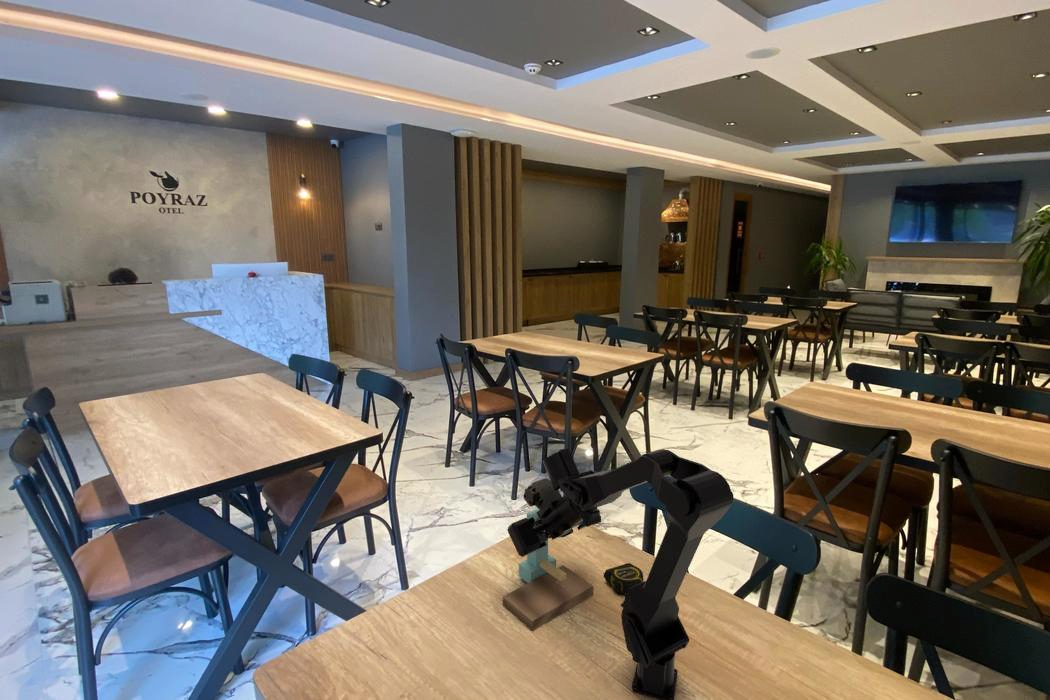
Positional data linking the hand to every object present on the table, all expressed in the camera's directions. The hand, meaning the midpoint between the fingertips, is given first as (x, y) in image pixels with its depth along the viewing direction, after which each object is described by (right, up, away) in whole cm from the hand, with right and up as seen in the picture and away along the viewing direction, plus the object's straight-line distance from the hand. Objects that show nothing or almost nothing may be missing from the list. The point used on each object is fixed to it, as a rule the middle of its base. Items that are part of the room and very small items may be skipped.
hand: (533, 538), depth 112 cm
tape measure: (+19, -9, -2) cm, 21 cm away
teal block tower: (+3, -8, -2) cm, 9 cm away
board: (+3, -10, -7) cm, 12 cm away
